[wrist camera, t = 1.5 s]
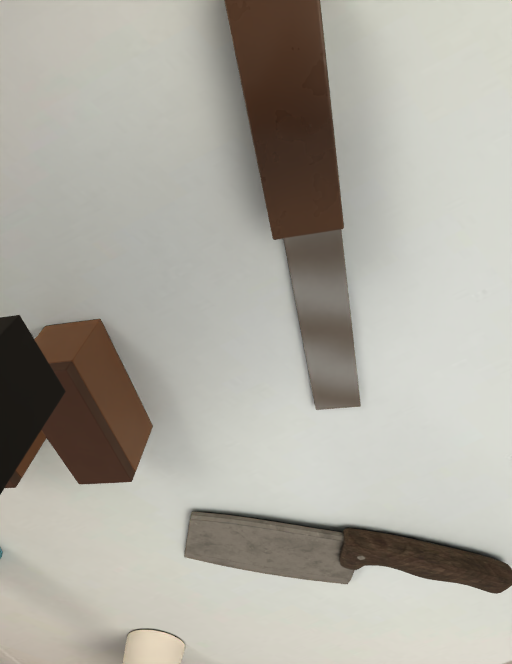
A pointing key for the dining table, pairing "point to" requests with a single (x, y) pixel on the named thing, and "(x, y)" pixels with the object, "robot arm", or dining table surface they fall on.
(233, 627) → the dining table surface
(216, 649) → the dining table surface
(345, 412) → the dining table surface
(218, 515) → the cleaver
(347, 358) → the knife
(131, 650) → the cup
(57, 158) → the dining table surface
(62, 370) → the cake slice
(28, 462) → the cake
